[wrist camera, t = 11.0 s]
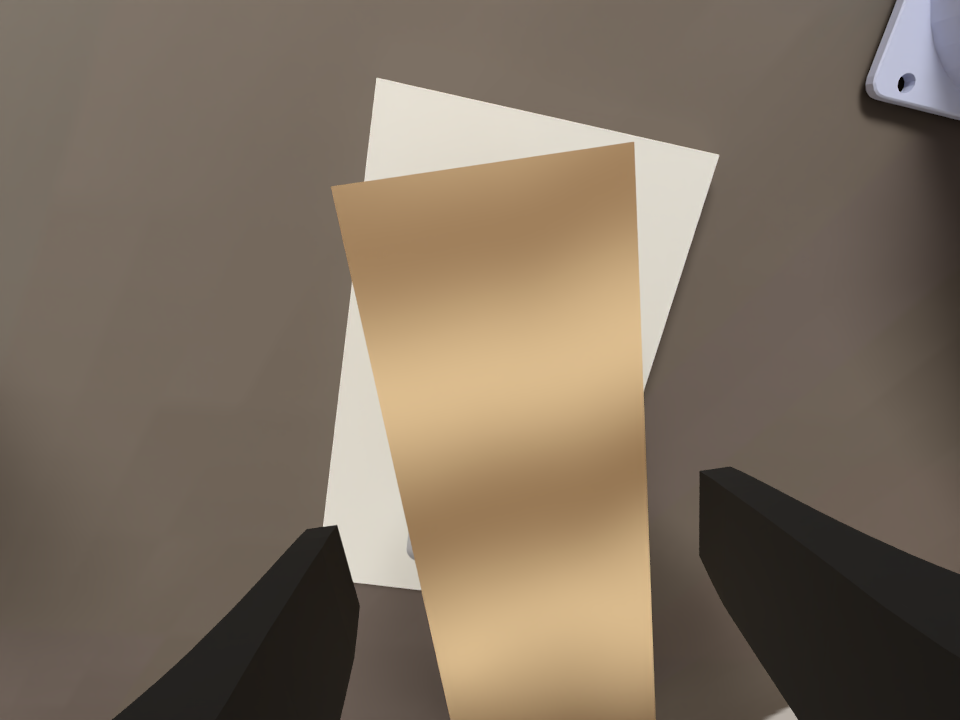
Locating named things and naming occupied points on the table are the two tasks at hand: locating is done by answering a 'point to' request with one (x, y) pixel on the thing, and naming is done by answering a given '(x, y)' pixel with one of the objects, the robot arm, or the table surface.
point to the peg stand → (460, 143)
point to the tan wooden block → (516, 423)
